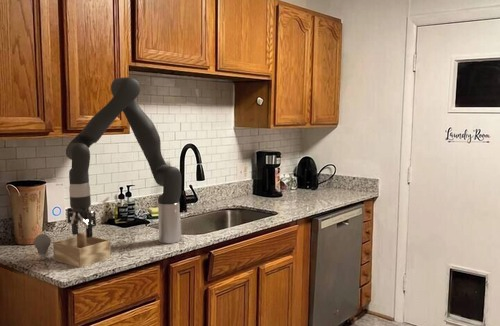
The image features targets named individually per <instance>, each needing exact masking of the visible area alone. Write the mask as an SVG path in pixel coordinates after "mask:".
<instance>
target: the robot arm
mask: <svg viewBox="0 0 500 326" xmlns="http://www.w3.org/2000/svg"><path fill="white" fill-rule="evenodd" d="M140 85H141V84H140V83H139V81H138V80H137V79H135V78H134V77H129V76H128V77H118V78H115V79H113V81H112V82H111V85H110V92H111V95H112V98H111V99H110V100H109V102H107V104H105V106H103V107H102V108H101V109H100V110H99V111H98V112H96V113H95V115H93V116H92V117H91V118H90V120H88V122H87V123H86V125H85V126H84V128H83V129H82V130H81V131H80V132H79V133H78V134H77V135H76V136H75V137H74V138H73V139H72V140H71V141H70V142H69V143H68V145H67V146H66V149H65V155H66V157H67V158H68V159H69V160H71V168H70V170H69V171H68V173H69V174H68V176H69V177H68V179H69V189H68V190H69V191H68V192H69V206H70V207H68V208H67V209H66V212H67V213H66V214H67V215H66V216H67V223H68V224H70V226H71V232H72V235H74V236H77V234H78V233H79V225H78V224H79V222H81V223H82V224H83V225H84V227H85V233H86V237H87V238H90V237H92V236H93V235H94V234H93V228H94V227H96V226H97V219H96V211H95V210H91V211H90V209H89V208H90V207H91V205H92V202H91V187H90V176H89V169H90V163H91V152H90V148H91V146H92V145H94V144H95V143H98V142H99V140H100V139H101V138H102V136H103V135H104V134H105V133H106V132H107V130H108V128H109V127H110V126H111V125H112V123H113V122H114V121H115V120H116V119H117V118H118V116H119V115H120V114H121V113H122V112H123V114H124V116H125V118H126V120H127V123H128V125H129V127H130V128H131V131H132V133H133V136H134V137H135V139H136V141H137V144H138V145H139V146H140V149H141V151H142V153H143V155H144V157H145V159H146V161H147V164H148V165H149V168H150V171H151V173H152V176H153V179H154V181H155V183H156V184H157V185H158V186H160V187H162V188H163V190H162V194H161V195H158V196H157V203H158V204H157V205H158V206H157V208H158V209H157V210H158V211H157V213H158V214H157V215H158V218H157V219H158V242H159V243H162V244H176V243H178V242H180V241H182V218H181V217H180V200H181V199H180V198H181V195H182V173H181V171H180V169H179V168H178V167H175V166H171V165H168V164H167V162H166V160H165V159H164V157H163V154H162V149H161V148H162V147H161V137H160V134H159V132H158V130H157V128H156V126H155V124H154V122H153V121H152V120H151V118H150V117H149V116H148V114H146V112H145V111H144V110H143V109H142V108H141V106H140V105H139V103H138V101H137V99H136V98H137V97H138V96H139V94H140V91H141V86H140Z"/></svg>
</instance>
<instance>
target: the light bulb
mask: <svg viewBox="0 0 500 326" xmlns="http://www.w3.org/2000/svg"><path fill="white" fill-rule="evenodd" d="M51 241H52V240H51V238H50V236H49V235H48V234H45V233H41V234H38V235H36V237H35V238H34V240H33V245H34V247H35V249H36V250H37V253H38V257H39V260H41V261H44V260H46V259H47V256H48V255H47V253H48V249H49V247H50V245H51V243H52V242H51Z"/></svg>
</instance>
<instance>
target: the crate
mask: <svg viewBox="0 0 500 326" xmlns="http://www.w3.org/2000/svg"><path fill="white" fill-rule="evenodd" d="M86 243H87V247H83V248H77V235H75V236H73V237H69V238H65V239H60V240H57V241H53V242H52V244H53V245H52V247H53V260H54V261H56V262H60V263H64V264H67V265H69V266H70V265H71V266H73V267H78V268H83V267H87V266H90V265H92V263H93V264H95V263H99V262H103V261H105V259H106V260H109V259H111V257H112V256H111V252H112V251H111V240H109V239H107V238H106V239H105V238H100V237H97V236H93V235H92V237H90V238H87V237H86ZM108 258H109V259H108Z"/></svg>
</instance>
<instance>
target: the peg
mask: <svg viewBox="0 0 500 326" xmlns="http://www.w3.org/2000/svg"><path fill="white" fill-rule="evenodd" d="M76 236H77V248H83V247H87V243H86V232H78V234H76Z"/></svg>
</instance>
